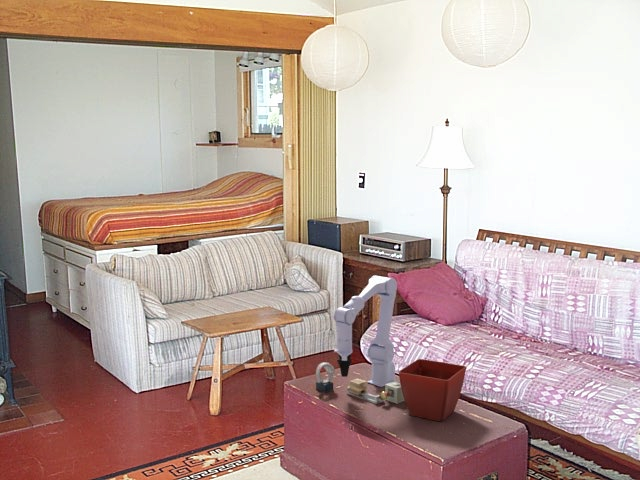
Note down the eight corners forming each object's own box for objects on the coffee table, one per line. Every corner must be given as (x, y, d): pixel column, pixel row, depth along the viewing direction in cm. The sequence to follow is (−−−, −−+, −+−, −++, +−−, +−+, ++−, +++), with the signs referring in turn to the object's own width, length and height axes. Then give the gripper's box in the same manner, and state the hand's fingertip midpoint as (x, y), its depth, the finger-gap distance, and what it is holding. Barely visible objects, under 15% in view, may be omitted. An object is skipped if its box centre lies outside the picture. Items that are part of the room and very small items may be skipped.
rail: (354, 391, 291) (354, 384, 290) (383, 401, 279) (383, 394, 279) (347, 393, 288) (347, 386, 287) (376, 404, 277) (376, 397, 276)
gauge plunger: (391, 394, 281) (391, 387, 281) (397, 396, 279) (397, 389, 279) (379, 399, 277) (379, 391, 276) (385, 401, 275) (385, 393, 274)
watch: (337, 389, 293) (337, 362, 292) (321, 393, 288) (321, 366, 286) (327, 385, 297) (327, 359, 296) (312, 390, 292) (312, 363, 291)
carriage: (357, 389, 289) (357, 378, 289) (366, 392, 286) (366, 381, 285) (349, 392, 286) (349, 380, 286) (358, 395, 283) (358, 384, 282)
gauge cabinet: (395, 395, 286) (395, 380, 285) (407, 399, 281) (407, 383, 280) (385, 399, 282) (385, 383, 281) (396, 403, 277) (397, 387, 276)
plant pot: (418, 400, 281) (418, 357, 278) (466, 409, 271) (467, 365, 269) (396, 416, 265) (397, 371, 262) (447, 427, 255) (448, 380, 252)
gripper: (334, 333, 288) (334, 366, 290) (333, 344, 273) (333, 379, 276) (352, 333, 287) (352, 367, 290) (352, 344, 273) (352, 379, 275)
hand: (344, 373), depth 282 cm, fingers open, 7 cm apart
